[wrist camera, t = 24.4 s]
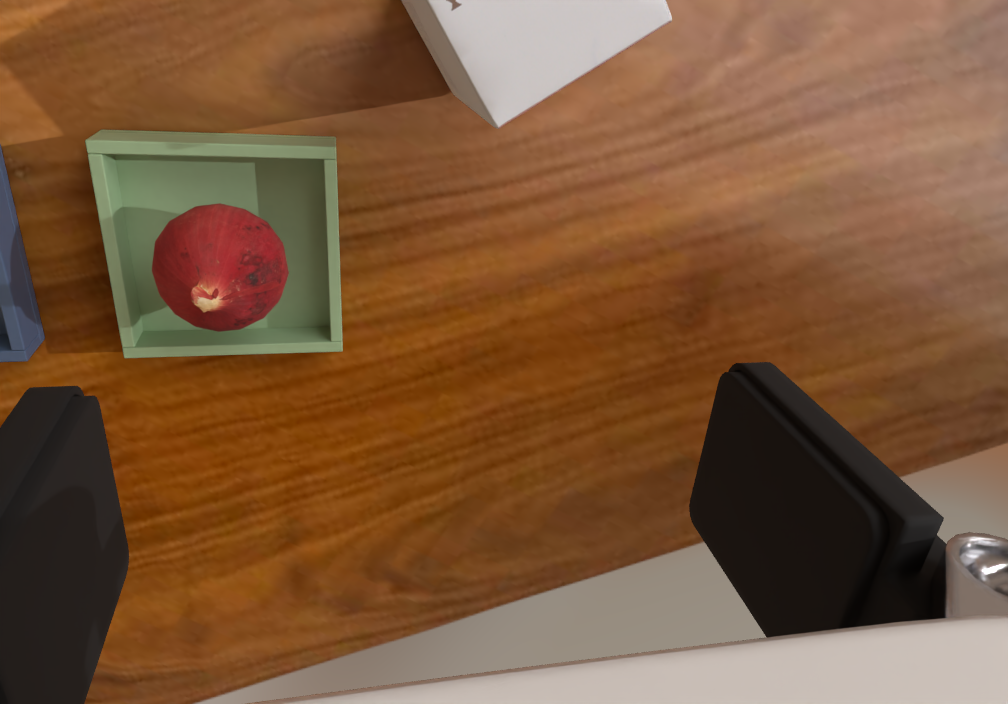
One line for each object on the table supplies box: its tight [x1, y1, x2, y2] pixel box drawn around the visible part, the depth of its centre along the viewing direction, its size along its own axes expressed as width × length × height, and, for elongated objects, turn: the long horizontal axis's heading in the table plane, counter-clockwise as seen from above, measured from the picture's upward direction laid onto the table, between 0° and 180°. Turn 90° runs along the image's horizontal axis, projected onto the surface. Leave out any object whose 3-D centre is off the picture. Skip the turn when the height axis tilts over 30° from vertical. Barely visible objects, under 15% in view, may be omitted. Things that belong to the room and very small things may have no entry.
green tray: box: [85, 130, 343, 358], centre depth 37 cm, size 11×11×3 cm
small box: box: [401, 0, 672, 129], centre depth 31 cm, size 8×6×10 cm
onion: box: [152, 203, 289, 332], centre depth 34 cm, size 6×6×8 cm
